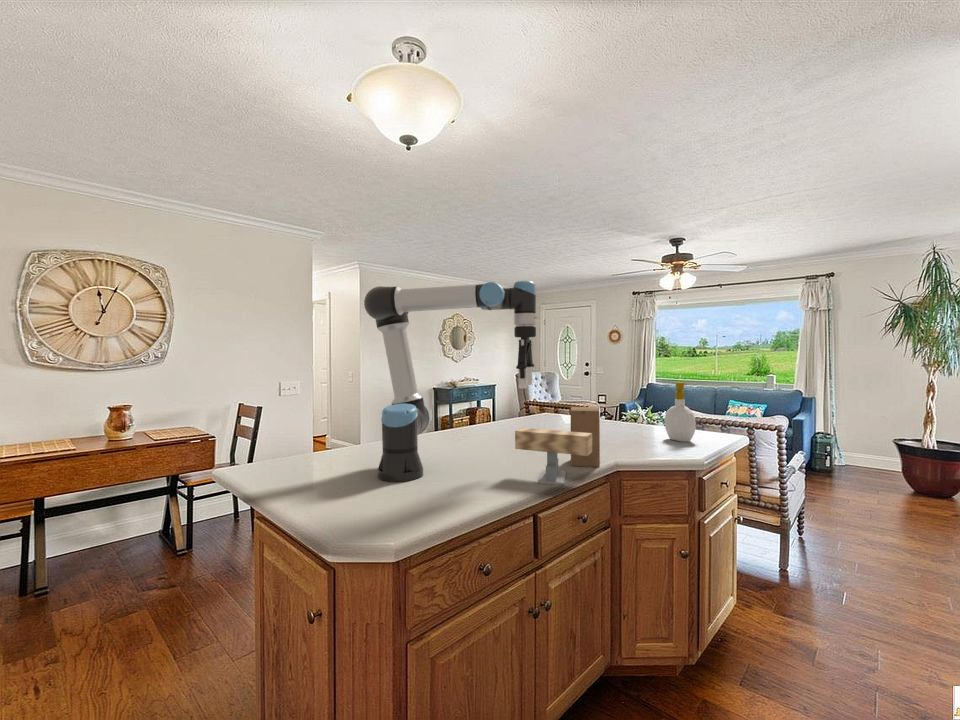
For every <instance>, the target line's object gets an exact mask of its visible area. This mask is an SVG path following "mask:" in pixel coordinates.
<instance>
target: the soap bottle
mask: <svg viewBox="0 0 960 720" xmlns="http://www.w3.org/2000/svg"><path fill="white" fill-rule="evenodd" d="M687 385H688V384H686V383H685V382H682V381H680V382H679V381H677V382H675V388H676V391H675V398H674V405H673V406H671V407H669V409H667V410H666V413H665V416H664V426H665V431H666V434H667V436H668V439H670V440H672V441H676V442H681V443H688V442H691V441H692V439H693V437H694V435H695V432H696V425H697V424H696V416H695V415H694V412H693V411H692V410H691V409H690V408H689V407H688V406H686V399H685V392H684V387H685V386H687Z"/></svg>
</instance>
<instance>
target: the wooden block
mask: <svg viewBox="0 0 960 720" xmlns="http://www.w3.org/2000/svg"><path fill="white" fill-rule="evenodd" d="M600 425H601V421H600V410H599V407H597V406H571V407H570V432H583V433H592V453H591V454H589V455H588V456H582V455H572V454H570V465H571V466H572V467H590V468H600V467H601V465H600V464H601V456H600V455H601V454H600V452H601V449H600V448H601V446H600V438H601V435H600V433H601V432H600V431H601V430H600Z"/></svg>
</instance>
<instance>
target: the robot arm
mask: <svg viewBox="0 0 960 720" xmlns="http://www.w3.org/2000/svg"><path fill="white" fill-rule="evenodd" d="M536 297H537V295H536V284H535V283H534V281H531V280H521V281H519V280H518V281H515V282H514V283H513V287H503V286H502V285H501V284H499V283H498V282H495V281H487V282H486V283H479V284H475V283H474V284H463V285H462V284H461V285H448V286H446V285H445V286H432V287H415V288H404V289H403V288H401V286H399V285H398V286H376V287H373V288H371V289H370V290H368V291H367V293H366V294H365V297H364V300H363V306H364V309H365V311H366V313H367V314H368V315H369V316H370V318H372V319H375V324H376V328H377V330H378V331H379V332H380V333H382V338H383V342H384V348H385V353H386V358H387V365H388V370H389V375H390V380H391V385H392V386H391V387H392V390H393V391H392V392H393V396H394V397H393V400H392V401H391V403H390V405H388V406H385V407H384V408H383V409H382V411H381V418H380V419H381V432H382V433H381V434H382V435H381V436H382V437H381V439H382V441H381V443H382V455H381V458H380V462H379V464H378V467H377V478H378V479H379V480H381V481H386V482H406V481H407V482H408V481H412V480H416V479H419V478H422V476H424V466H423V463H422V461H421V458H420V455H419V452H418V448H419V447H418V445H419V444H418V441H419V440H418V436H419V435H421V434H423V432H424V431H426V429H427V428H428V426H429V423H430V419H431V416H430V411H429V410H428V408H427V407H426V405H425V401H424V396H423V395H421V394H419V391H418V387H417V381H416V375H415V370H414V366H413V360H412V354H411V348H410V344H409V338H408V334H407V327H408V326H409V324H410V321H409V316H408V315H409V312H411V313H412V312H425V311H426V312H429V311H440V310H441V311H442V310H457V309H471V308H472V309H473V308H480V309H481V310H484V311H485V310H486V311H497V310H501V311H502V310H513V311H514V313H513V325H514V326H515V327H514V337H515V338H520V339H518V353H517V354H518V356H517V365H516V367H515V368H516V370H518V389H528V386H532V385H533V368H534V367H535V364H534V363H533V352H532V350H533V349H532V339H530V338H536V337H537V327H536V326H535V325H537V323H536V321H537V320H538V316H537V314H536V312H537V311H536V308H537V306H536V303H537V299H536Z"/></svg>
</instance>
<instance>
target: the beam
mask: <svg viewBox="0 0 960 720" xmlns="http://www.w3.org/2000/svg"><path fill="white" fill-rule="evenodd" d="M514 448H515V450H521V451H522V450H523V451H533V452H541V453H542V452H543V453H544V452H545V453H547V452H552V453H557V454H563V455H571V454H572V455H582V456H588V455H589V454H591V453H592V433H583V432H571V430H570V431H567V430H556V429H555V430H553V429H541V428H530V427H529V428H528V427H527V428H526V427H521V428H519V429H515V430H514Z"/></svg>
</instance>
